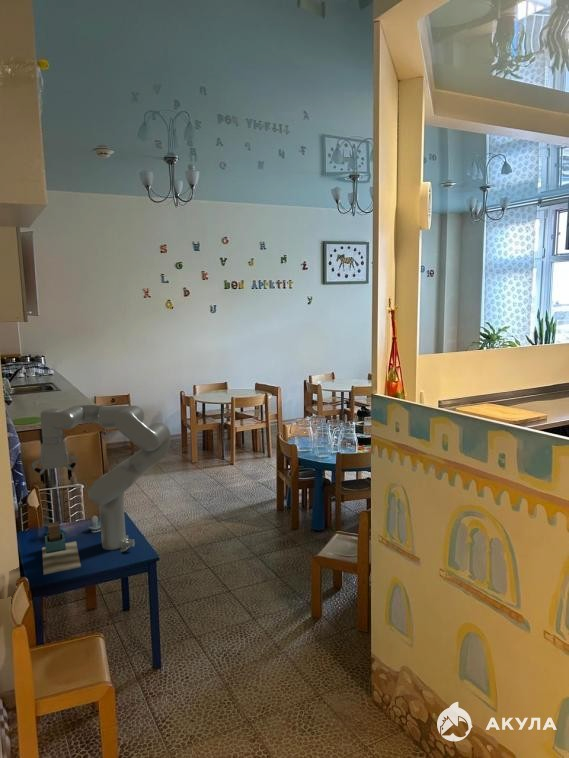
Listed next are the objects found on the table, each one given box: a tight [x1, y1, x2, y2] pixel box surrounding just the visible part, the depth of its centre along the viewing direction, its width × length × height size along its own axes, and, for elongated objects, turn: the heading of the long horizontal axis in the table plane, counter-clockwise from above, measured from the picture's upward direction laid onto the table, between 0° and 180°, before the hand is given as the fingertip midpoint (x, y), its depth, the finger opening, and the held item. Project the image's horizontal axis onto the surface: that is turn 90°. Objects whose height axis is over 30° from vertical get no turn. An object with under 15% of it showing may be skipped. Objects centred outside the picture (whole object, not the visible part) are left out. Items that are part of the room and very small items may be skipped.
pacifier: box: [87, 515, 101, 534], centre depth 248 cm, size 7×6×6 cm
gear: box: [45, 520, 67, 536], centre depth 243 cm, size 11×6×10 cm
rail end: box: [47, 521, 61, 541], centre depth 219 cm, size 4×4×9 cm
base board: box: [41, 540, 82, 576], centre depth 221 cm, size 24×13×2 cm, turn 24°
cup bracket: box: [44, 532, 66, 554], centre depth 223 cm, size 14×7×10 cm, turn 24°
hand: (56, 480), depth 228 cm, fingers open, 9 cm apart
